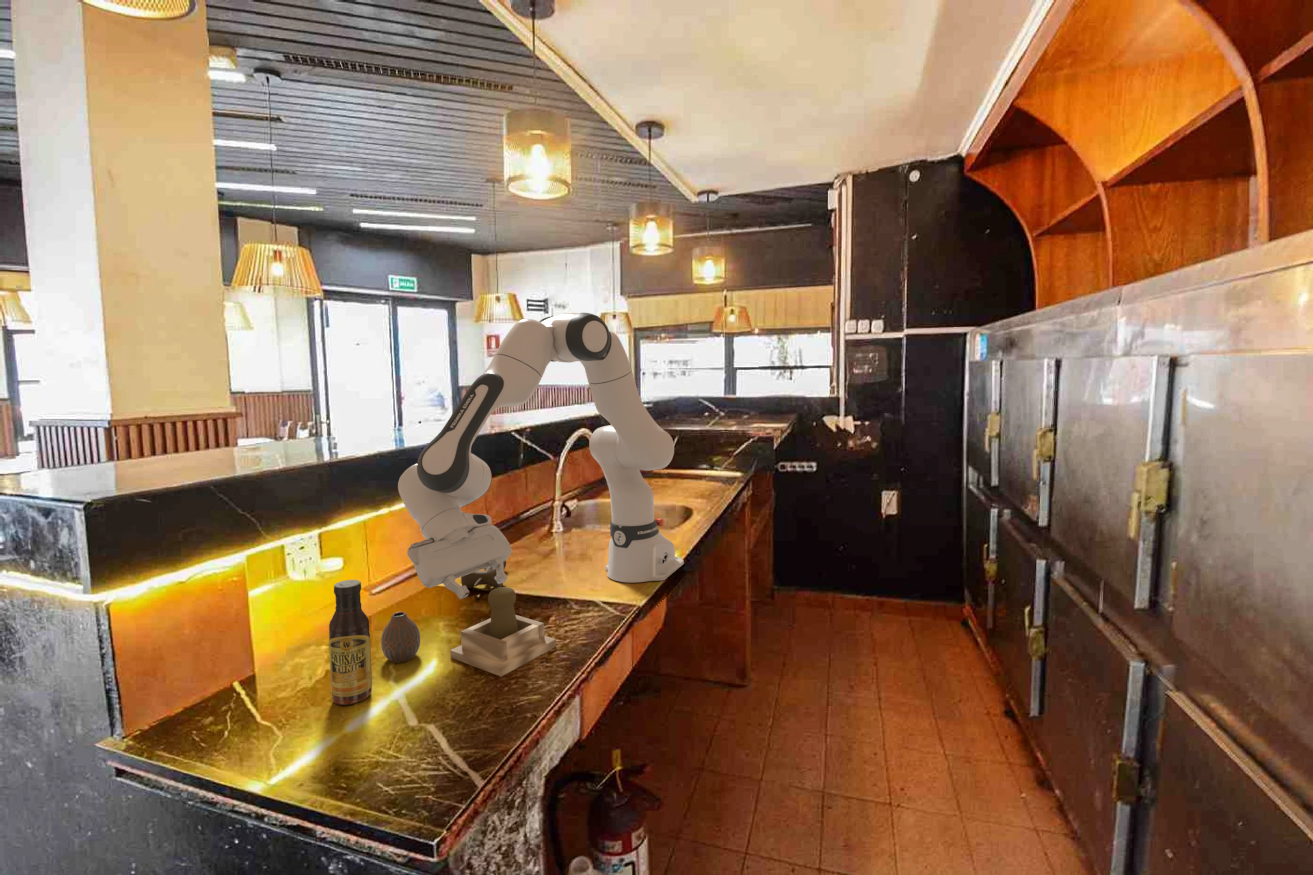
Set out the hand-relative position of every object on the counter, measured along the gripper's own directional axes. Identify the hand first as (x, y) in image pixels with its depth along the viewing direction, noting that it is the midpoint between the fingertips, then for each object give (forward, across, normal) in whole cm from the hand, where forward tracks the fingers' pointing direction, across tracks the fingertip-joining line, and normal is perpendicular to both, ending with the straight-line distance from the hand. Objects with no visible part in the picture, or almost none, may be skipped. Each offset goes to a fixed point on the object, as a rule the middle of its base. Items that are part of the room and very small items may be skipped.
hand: (484, 588), depth 122 cm
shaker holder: (+12, 0, +5) cm, 13 cm away
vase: (+1, -12, +16) cm, 20 cm away
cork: (+11, 0, +4) cm, 11 cm away
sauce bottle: (+5, -25, +12) cm, 28 cm away
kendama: (-12, +25, +29) cm, 40 cm away
